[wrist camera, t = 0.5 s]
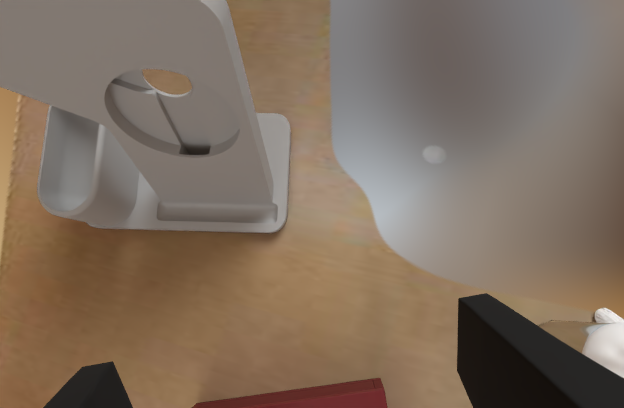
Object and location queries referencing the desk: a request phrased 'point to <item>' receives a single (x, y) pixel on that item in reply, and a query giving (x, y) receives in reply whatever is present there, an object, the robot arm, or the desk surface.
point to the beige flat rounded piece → (592, 341)
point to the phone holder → (146, 116)
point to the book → (293, 394)
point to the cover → (335, 401)
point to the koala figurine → (607, 316)
